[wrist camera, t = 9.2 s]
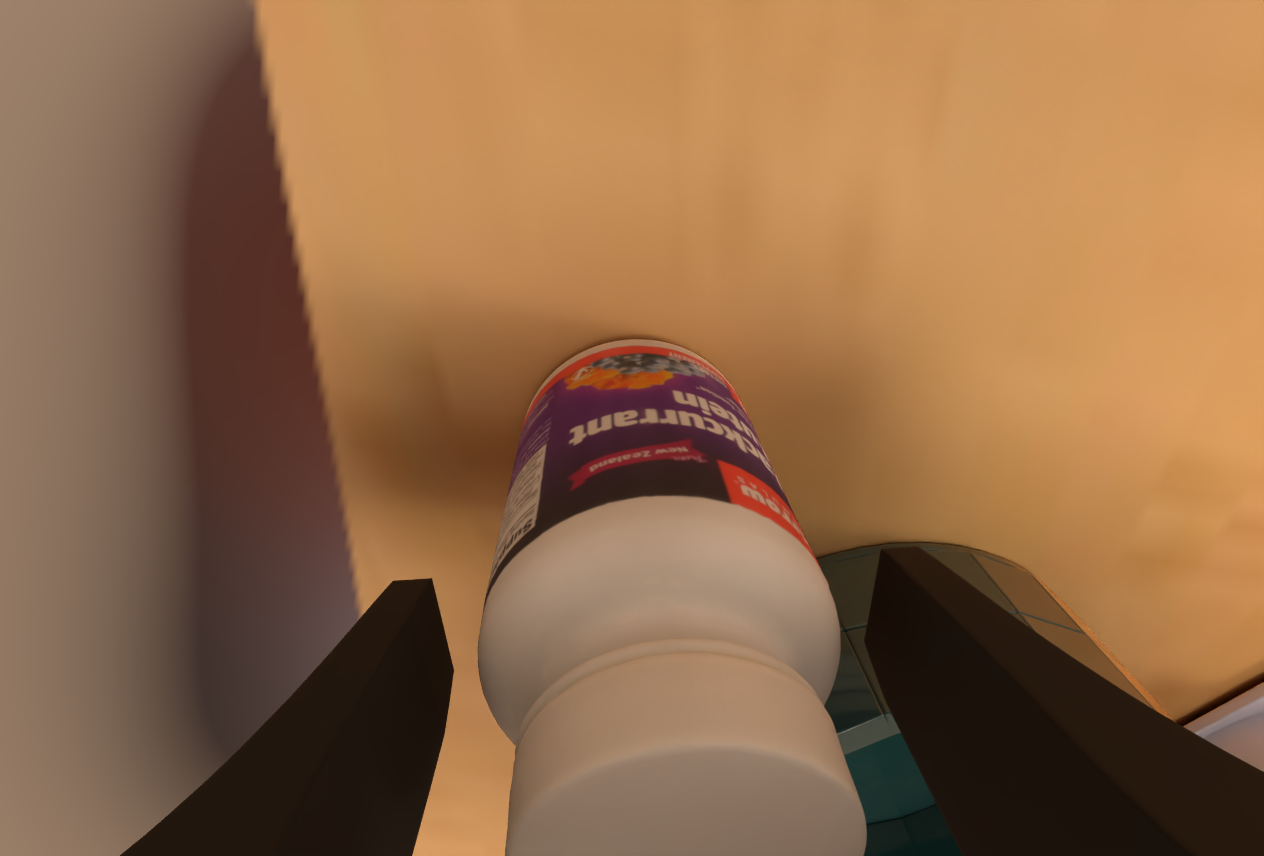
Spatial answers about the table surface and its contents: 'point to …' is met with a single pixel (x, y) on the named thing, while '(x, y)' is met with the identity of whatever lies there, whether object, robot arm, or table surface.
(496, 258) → the table surface
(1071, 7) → the table surface
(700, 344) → the table surface
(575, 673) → the pill bottle
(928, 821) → the pot
